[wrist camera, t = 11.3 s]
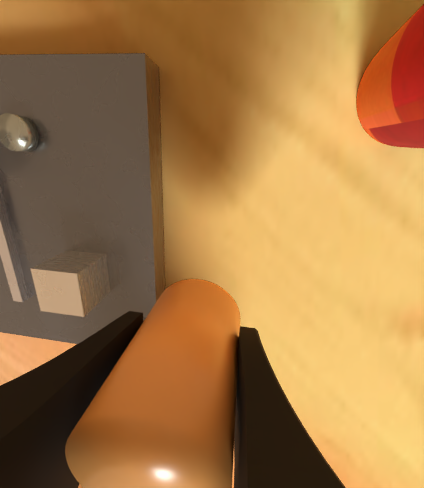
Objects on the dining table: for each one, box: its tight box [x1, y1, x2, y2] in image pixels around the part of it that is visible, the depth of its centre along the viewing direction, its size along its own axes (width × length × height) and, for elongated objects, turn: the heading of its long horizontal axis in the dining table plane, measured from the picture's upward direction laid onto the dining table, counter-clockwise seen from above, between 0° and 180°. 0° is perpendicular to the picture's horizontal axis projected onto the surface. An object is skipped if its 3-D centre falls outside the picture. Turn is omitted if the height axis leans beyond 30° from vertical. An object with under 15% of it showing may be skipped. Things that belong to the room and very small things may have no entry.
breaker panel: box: [0, 53, 165, 344], centre depth 16 cm, size 20×20×5 cm
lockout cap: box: [65, 279, 240, 488], centre depth 8 cm, size 4×4×6 cm
